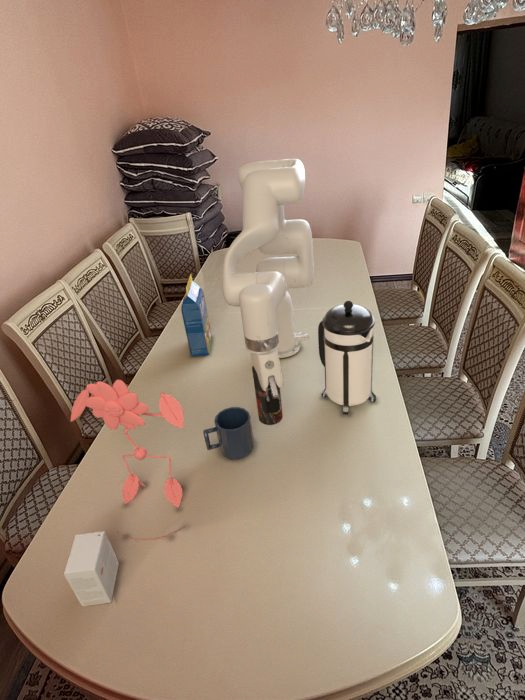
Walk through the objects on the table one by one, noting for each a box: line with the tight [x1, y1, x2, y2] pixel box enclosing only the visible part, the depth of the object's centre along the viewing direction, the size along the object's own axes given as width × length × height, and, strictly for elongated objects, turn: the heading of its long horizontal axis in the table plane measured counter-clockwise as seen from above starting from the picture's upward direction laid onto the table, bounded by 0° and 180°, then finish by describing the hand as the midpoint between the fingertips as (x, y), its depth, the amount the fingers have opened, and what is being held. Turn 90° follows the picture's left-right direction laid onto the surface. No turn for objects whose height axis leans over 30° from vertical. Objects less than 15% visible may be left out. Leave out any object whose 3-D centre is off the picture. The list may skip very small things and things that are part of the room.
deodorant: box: [251, 367, 284, 426], centre depth 108 cm, size 6×6×15 cm
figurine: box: [70, 379, 186, 543], centre depth 90 cm, size 15×26×35 cm, turn 78°
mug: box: [202, 406, 255, 461], centre depth 111 cm, size 12×9×10 cm
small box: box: [63, 530, 120, 607], centre depth 83 cm, size 8×6×10 cm
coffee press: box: [317, 300, 377, 416], centre depth 118 cm, size 17×16×30 cm
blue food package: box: [180, 274, 213, 357], centre depth 151 cm, size 6×12×25 cm, turn 0°
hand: (269, 402), depth 109 cm, fingers closed on deodorant, 5 cm apart
